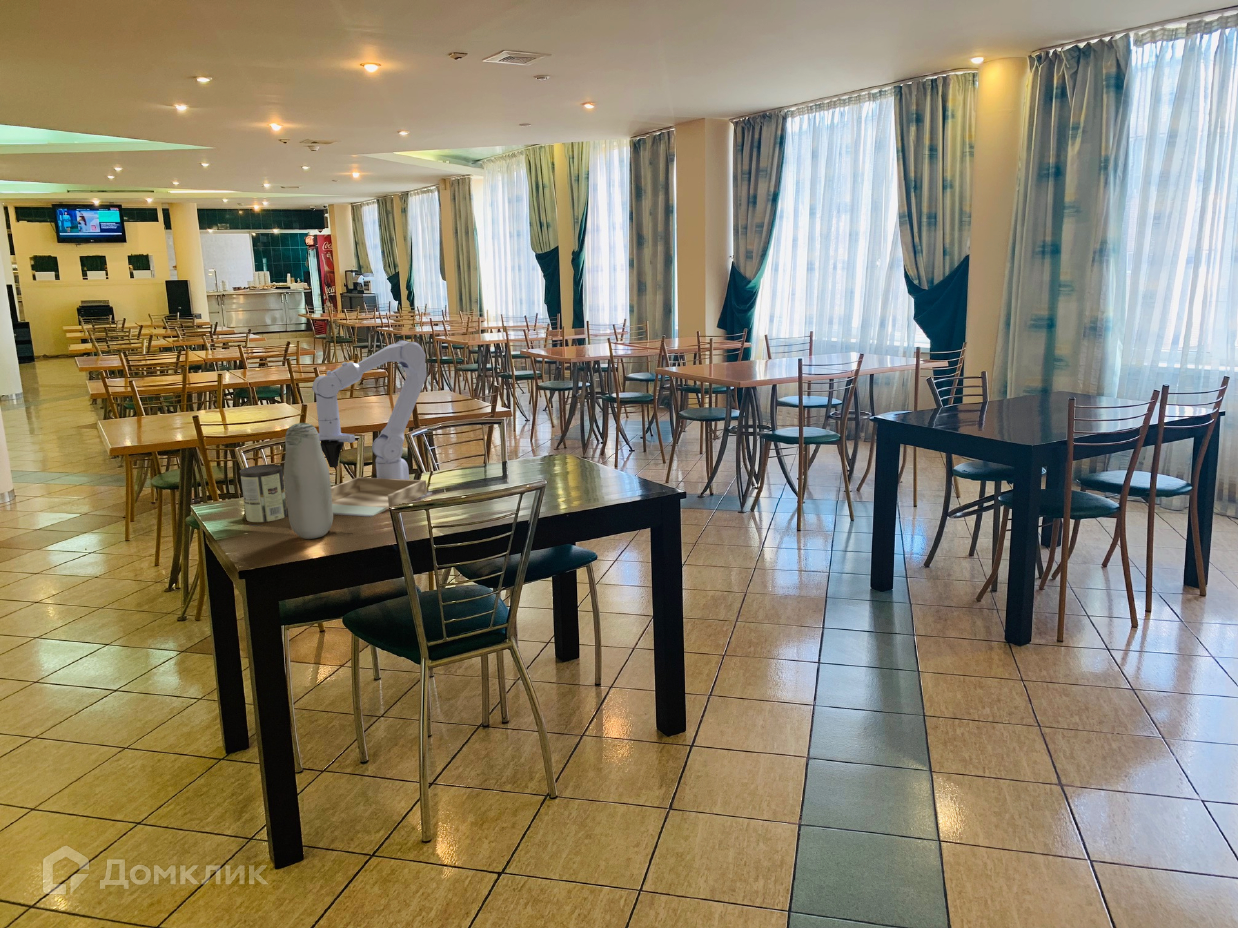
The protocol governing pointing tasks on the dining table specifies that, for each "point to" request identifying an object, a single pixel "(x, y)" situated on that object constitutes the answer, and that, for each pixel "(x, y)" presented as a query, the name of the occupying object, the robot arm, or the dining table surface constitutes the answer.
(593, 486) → the dining table surface
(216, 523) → the dining table surface
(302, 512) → the white bottle
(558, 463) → the dining table surface
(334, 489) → the cart bed
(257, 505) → the coffee can
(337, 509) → the panel
